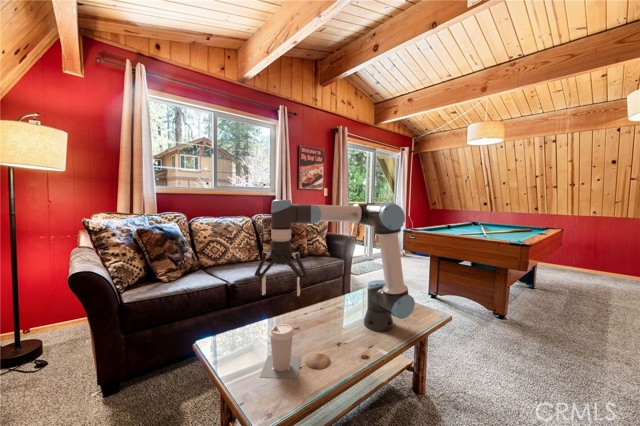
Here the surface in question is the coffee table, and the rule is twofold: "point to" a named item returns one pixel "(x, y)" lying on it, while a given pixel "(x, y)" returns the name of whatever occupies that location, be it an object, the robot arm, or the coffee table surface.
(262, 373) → the tile
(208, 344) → the coffee table surface
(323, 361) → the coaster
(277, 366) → the coffee cup
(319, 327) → the coffee table surface
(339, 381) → the coffee table surface
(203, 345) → the coffee table surface
